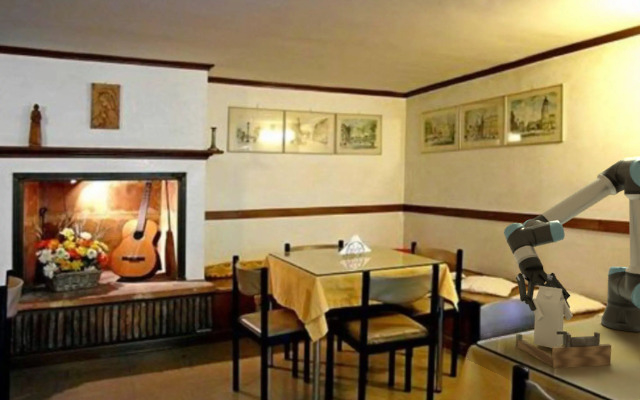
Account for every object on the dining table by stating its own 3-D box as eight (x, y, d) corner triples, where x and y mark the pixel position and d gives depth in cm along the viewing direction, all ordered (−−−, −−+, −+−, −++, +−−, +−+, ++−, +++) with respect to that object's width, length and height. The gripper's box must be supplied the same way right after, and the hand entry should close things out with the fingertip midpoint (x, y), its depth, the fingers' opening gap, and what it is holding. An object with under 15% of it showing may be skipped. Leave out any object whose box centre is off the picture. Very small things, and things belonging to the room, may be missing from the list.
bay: (566, 343, 174) (567, 312, 173) (612, 365, 153) (614, 330, 153) (515, 345, 170) (516, 314, 170) (556, 369, 150) (557, 333, 149)
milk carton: (540, 339, 173) (542, 284, 173) (562, 344, 169) (565, 287, 168) (533, 344, 168) (536, 287, 167) (556, 349, 163) (559, 290, 163)
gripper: (551, 267, 185) (580, 323, 170) (495, 268, 180) (518, 325, 166) (562, 255, 179) (592, 311, 164) (503, 255, 175) (529, 313, 160)
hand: (555, 318), depth 165 cm, fingers closed on milk carton, 10 cm apart
